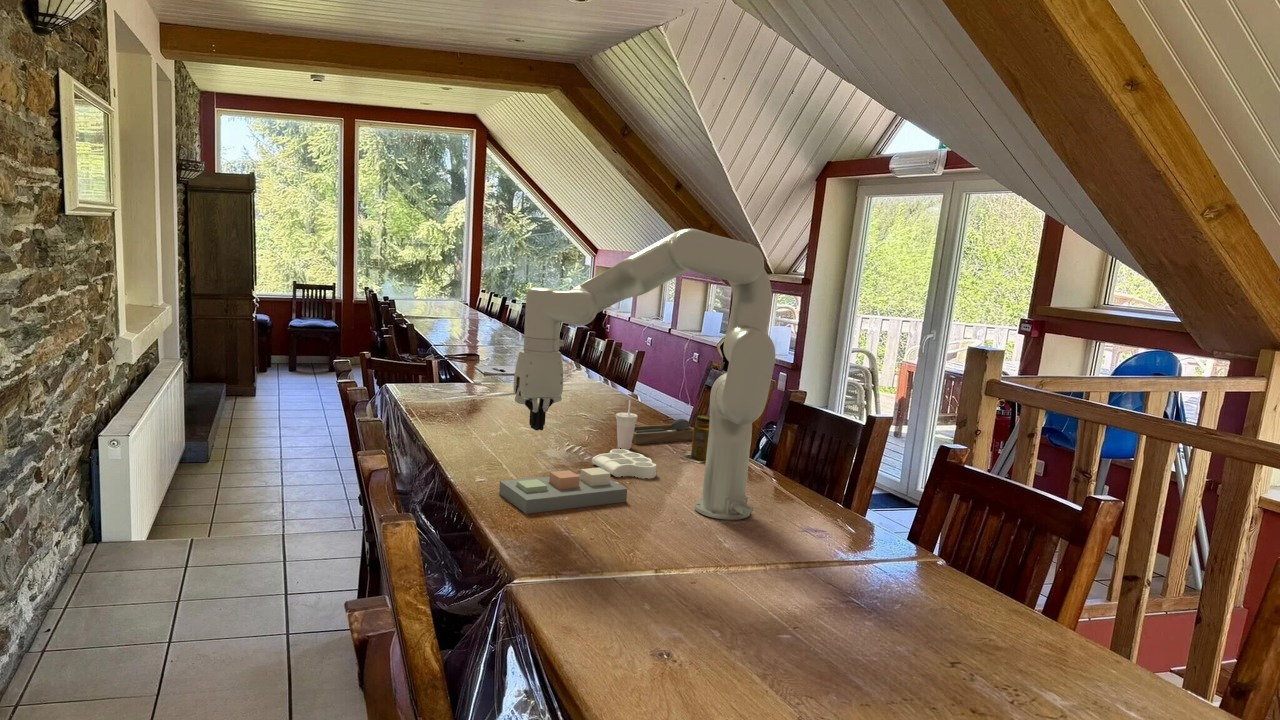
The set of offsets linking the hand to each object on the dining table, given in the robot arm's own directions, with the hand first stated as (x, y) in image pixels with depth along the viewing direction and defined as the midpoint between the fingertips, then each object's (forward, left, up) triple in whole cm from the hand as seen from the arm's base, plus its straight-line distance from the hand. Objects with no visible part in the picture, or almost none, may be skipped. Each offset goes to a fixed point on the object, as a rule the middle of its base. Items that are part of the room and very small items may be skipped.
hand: (536, 428), depth 175 cm
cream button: (0, -16, -15) cm, 22 cm away
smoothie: (+35, -46, -17) cm, 60 cm away
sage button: (0, 0, -16) cm, 16 cm away
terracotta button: (0, -8, -15) cm, 17 cm away
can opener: (+41, -63, -17) cm, 77 cm away
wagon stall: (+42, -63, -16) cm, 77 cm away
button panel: (0, -8, -16) cm, 18 cm away
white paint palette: (+16, -35, -17) cm, 42 cm away
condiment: (+19, -61, -17) cm, 66 cm away
